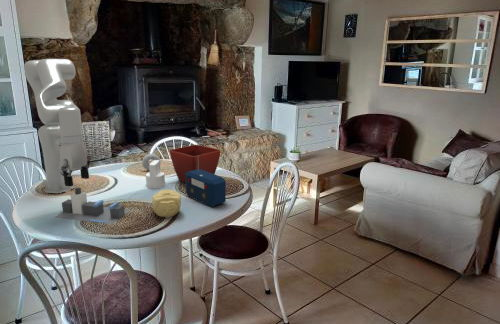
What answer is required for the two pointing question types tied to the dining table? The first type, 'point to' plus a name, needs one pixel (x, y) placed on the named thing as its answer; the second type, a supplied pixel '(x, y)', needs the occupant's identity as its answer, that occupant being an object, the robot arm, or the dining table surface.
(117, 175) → the dining table surface
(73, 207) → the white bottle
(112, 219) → the grey toy block board
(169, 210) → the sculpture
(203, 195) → the radio
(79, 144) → the robot arm
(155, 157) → the donut
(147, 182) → the cylinder with rectangular tab
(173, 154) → the plant pot
